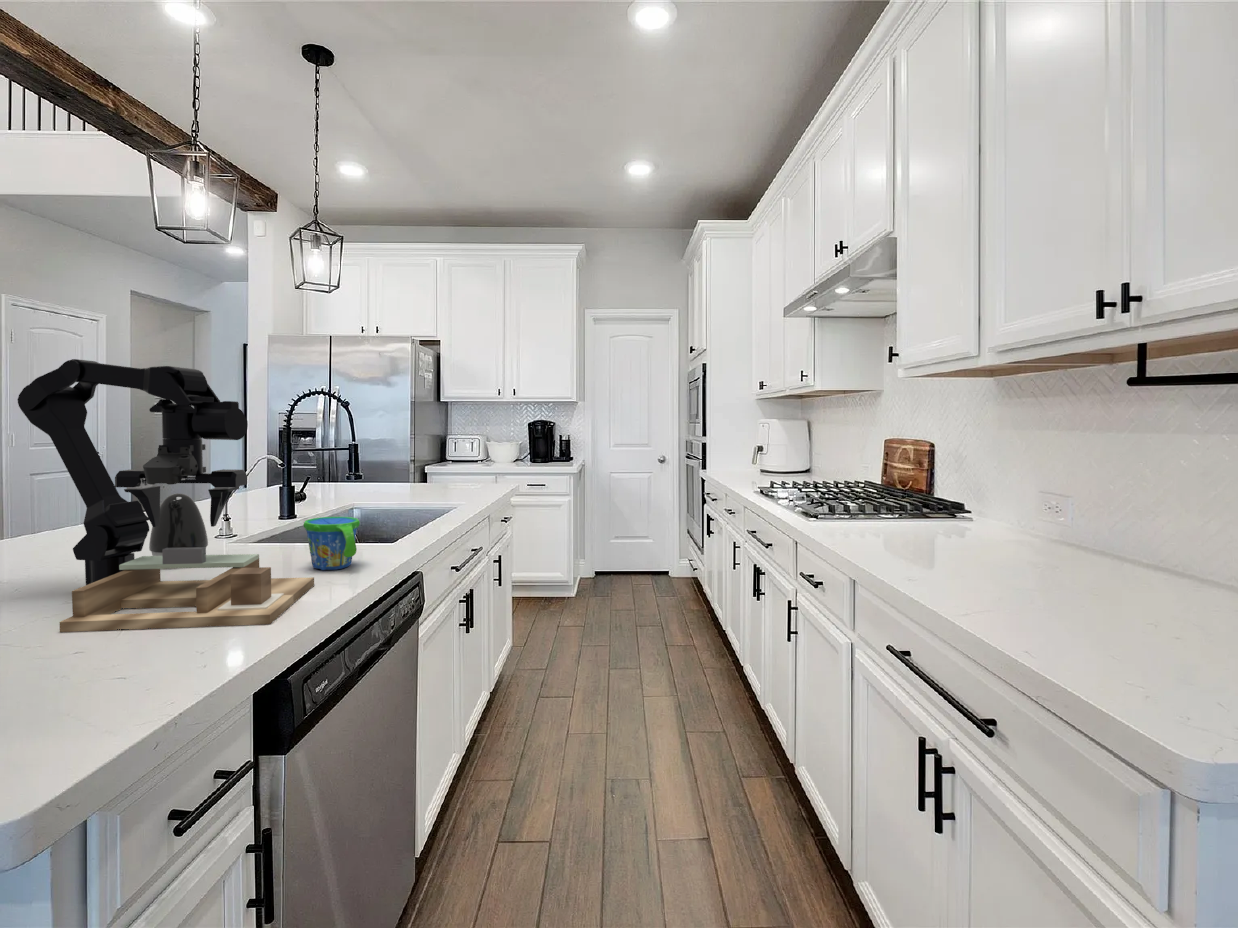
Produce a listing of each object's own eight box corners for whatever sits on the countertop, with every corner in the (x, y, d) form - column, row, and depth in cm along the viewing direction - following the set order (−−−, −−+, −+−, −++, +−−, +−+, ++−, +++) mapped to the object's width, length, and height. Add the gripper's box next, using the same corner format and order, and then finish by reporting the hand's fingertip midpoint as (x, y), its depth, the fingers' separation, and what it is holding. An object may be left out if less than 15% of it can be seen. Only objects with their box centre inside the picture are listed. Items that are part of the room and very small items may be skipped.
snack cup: (372, 569, 130) (372, 522, 129) (320, 578, 122) (320, 527, 122) (342, 557, 141) (342, 513, 140) (293, 564, 133) (292, 517, 133)
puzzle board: (59, 632, 89) (58, 594, 89) (148, 589, 112) (147, 559, 111) (270, 624, 94) (269, 588, 94) (314, 585, 117) (313, 556, 117)
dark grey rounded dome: (144, 571, 124) (142, 497, 123) (155, 560, 134) (153, 491, 133) (204, 567, 129) (203, 495, 128) (211, 557, 138) (209, 490, 137)
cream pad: (217, 610, 96) (217, 608, 96) (238, 596, 104) (238, 594, 103) (266, 609, 97) (266, 607, 97) (283, 595, 105) (283, 593, 105)
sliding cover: (119, 569, 103) (118, 550, 103) (142, 560, 110) (142, 542, 110) (243, 567, 107) (243, 548, 106) (259, 558, 113) (258, 540, 113)
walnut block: (231, 605, 98) (230, 574, 97) (242, 597, 102) (242, 567, 102) (261, 604, 98) (260, 573, 98) (271, 596, 103) (270, 567, 102)
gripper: (92, 439, 99) (95, 535, 100) (220, 441, 102) (222, 533, 103) (132, 437, 110) (135, 524, 111) (247, 439, 113) (249, 523, 114)
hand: (184, 526), depth 109 cm, fingers open, 9 cm apart
